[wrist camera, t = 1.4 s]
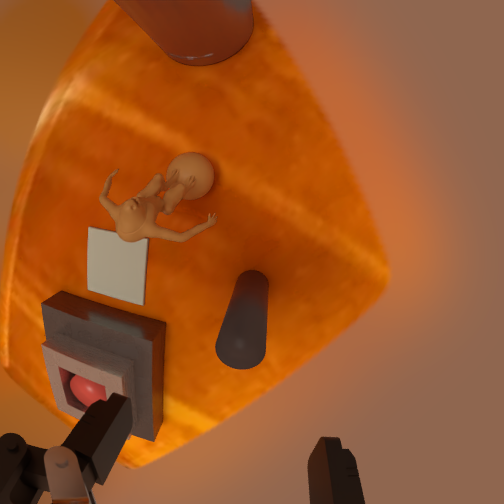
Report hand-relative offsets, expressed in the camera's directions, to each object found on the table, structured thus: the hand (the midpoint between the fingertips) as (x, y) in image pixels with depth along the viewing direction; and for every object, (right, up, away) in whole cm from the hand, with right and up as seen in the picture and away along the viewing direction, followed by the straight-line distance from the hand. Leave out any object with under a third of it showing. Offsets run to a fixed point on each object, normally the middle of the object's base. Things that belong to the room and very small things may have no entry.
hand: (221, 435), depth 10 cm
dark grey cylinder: (+1, +4, +17) cm, 18 cm away
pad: (-13, +6, +18) cm, 23 cm away
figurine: (-4, +13, +16) cm, 21 cm away
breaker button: (-16, -7, +19) cm, 26 cm away
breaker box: (-16, -6, +21) cm, 27 cm away
